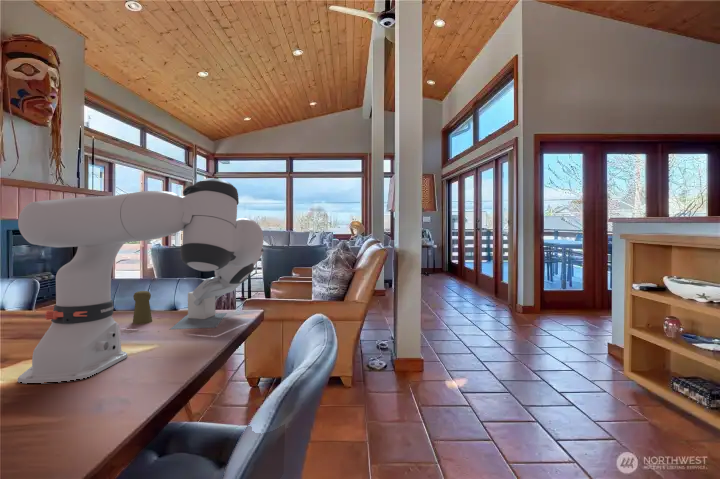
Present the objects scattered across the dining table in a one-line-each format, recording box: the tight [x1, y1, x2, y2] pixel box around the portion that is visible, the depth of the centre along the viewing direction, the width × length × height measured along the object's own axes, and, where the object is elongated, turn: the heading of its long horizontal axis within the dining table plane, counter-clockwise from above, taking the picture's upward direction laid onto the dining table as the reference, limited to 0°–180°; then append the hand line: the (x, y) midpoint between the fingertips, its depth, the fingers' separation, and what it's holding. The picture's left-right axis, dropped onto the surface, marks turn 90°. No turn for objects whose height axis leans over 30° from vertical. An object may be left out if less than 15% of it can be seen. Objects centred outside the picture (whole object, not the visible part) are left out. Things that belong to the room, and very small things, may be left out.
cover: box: [187, 291, 216, 319], centre depth 144 cm, size 7×7×9 cm
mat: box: [169, 312, 228, 330], centre depth 138 cm, size 22×14×1 cm, turn 10°
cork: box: [132, 290, 153, 325], centre depth 135 cm, size 6×6×11 cm
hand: (204, 301), depth 143 cm, fingers open, 8 cm apart
